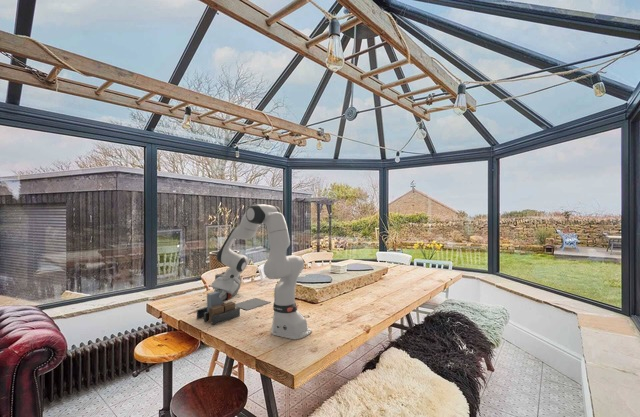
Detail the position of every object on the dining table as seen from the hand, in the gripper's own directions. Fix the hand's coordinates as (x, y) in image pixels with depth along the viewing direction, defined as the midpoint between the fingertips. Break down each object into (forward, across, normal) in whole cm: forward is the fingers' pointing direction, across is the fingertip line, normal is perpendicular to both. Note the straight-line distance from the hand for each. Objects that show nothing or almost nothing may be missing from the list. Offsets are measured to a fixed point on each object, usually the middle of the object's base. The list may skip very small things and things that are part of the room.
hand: (216, 296), depth 178 cm
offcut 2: (+6, +8, +10) cm, 14 cm away
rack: (+9, +3, +7) cm, 12 cm away
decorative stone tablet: (-10, -25, +27) cm, 38 cm away
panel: (+9, 0, +8) cm, 11 cm away
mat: (-11, 0, +27) cm, 29 cm away
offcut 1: (+12, +8, +5) cm, 15 cm away
